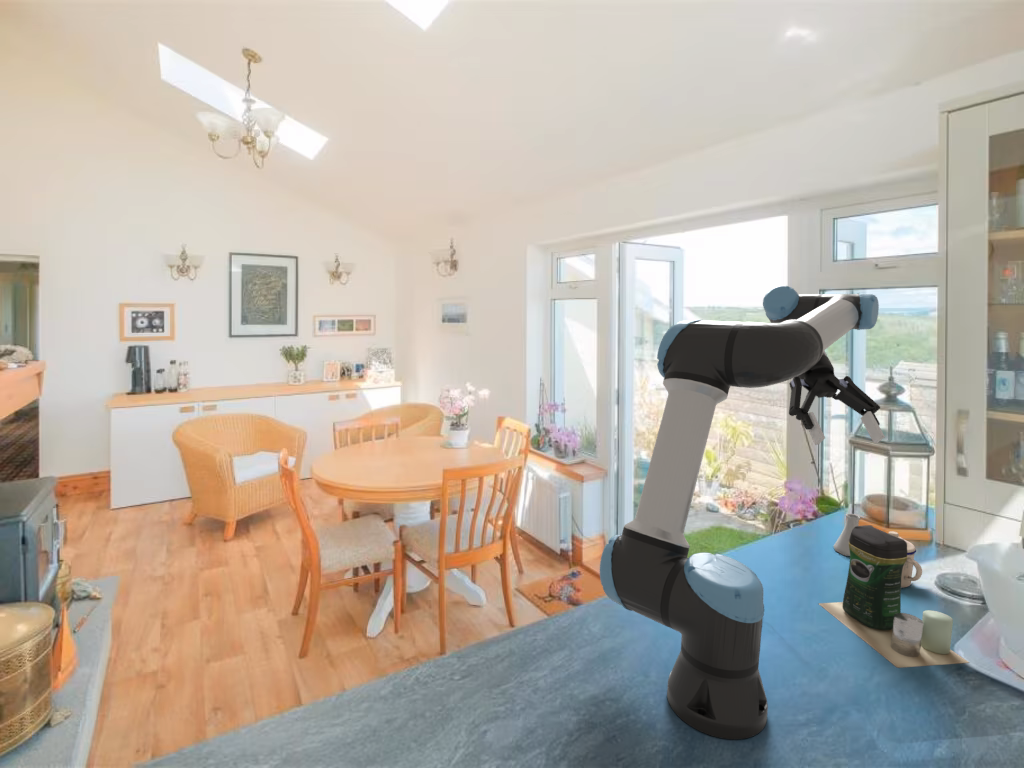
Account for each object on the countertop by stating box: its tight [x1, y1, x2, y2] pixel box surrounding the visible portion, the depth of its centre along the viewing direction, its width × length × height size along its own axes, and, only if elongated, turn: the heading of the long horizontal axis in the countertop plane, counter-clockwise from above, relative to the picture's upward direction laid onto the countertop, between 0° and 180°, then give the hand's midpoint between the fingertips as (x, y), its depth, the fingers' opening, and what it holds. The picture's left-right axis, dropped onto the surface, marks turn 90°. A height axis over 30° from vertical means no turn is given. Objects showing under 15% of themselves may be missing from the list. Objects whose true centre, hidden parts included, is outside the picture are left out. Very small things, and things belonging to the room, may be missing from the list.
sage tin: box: [921, 609, 954, 654], centre depth 102 cm, size 4×4×6 cm
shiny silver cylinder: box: [891, 612, 924, 657], centre depth 101 cm, size 4×4×6 cm
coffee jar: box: [842, 525, 907, 630], centre depth 110 cm, size 10×8×19 cm
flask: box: [833, 513, 861, 557], centre depth 145 cm, size 7×7×10 cm
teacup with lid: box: [888, 531, 923, 589], centre depth 129 cm, size 12×9×12 cm
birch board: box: [818, 601, 970, 669], centre depth 108 cm, size 14×21×2 cm, turn 7°
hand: (850, 440), depth 117 cm, fingers open, 13 cm apart
